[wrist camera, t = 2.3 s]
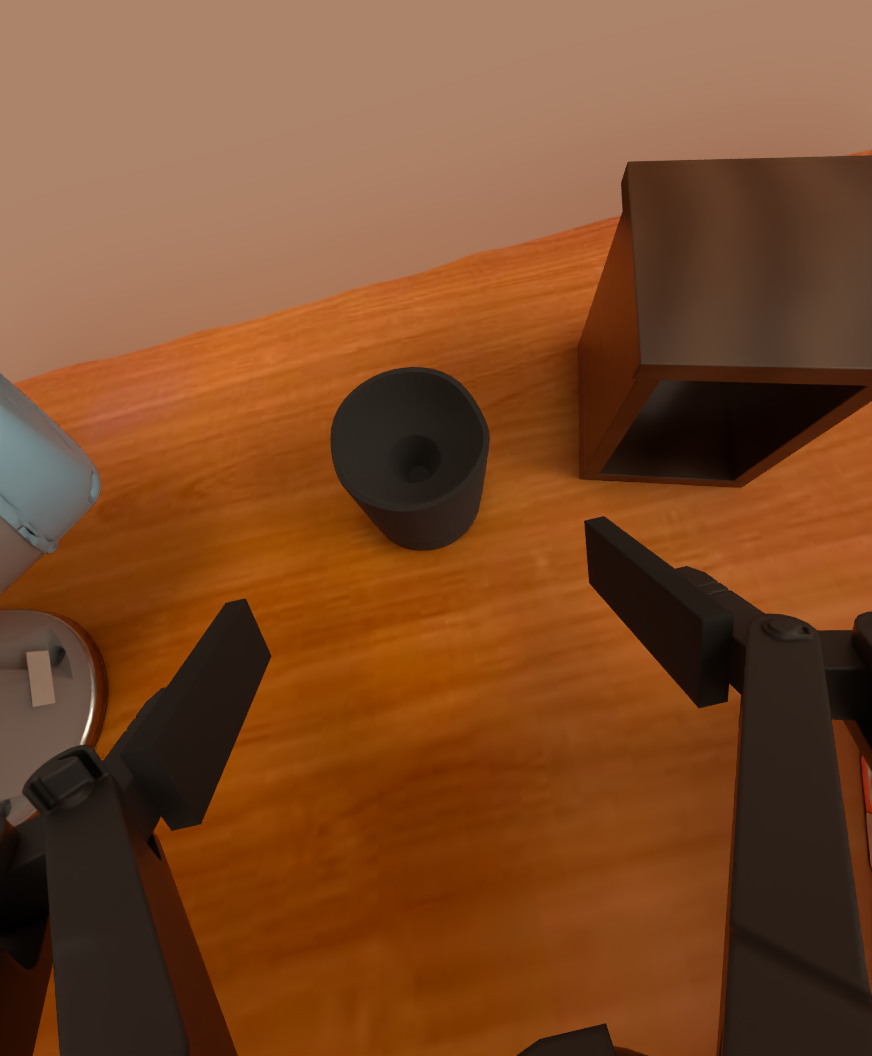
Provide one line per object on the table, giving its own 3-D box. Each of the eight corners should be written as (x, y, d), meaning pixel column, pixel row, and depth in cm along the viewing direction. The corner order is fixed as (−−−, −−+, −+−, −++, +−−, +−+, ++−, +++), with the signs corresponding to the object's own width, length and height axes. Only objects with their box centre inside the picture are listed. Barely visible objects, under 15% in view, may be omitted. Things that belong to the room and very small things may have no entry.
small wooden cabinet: (573, 484, 33) (640, 363, 20) (572, 340, 37) (627, 160, 24) (750, 494, 32) (949, 371, 19) (728, 342, 36) (877, 154, 23)
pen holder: (500, 467, 34) (511, 390, 25) (460, 574, 32) (455, 534, 22) (395, 434, 36) (367, 350, 26) (348, 533, 33) (300, 480, 24)
